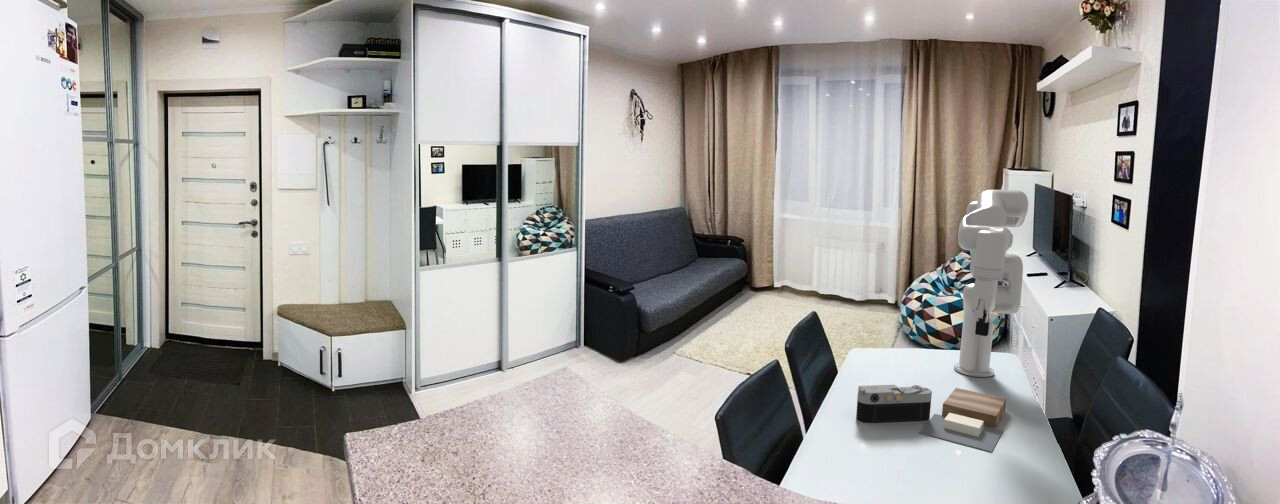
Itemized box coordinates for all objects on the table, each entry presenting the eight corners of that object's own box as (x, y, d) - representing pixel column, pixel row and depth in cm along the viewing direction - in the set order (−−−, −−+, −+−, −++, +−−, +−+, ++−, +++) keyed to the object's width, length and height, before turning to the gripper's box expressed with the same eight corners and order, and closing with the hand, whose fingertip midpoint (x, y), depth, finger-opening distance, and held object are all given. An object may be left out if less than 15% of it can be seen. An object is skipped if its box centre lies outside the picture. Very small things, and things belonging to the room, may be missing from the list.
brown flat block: (954, 399, 205) (955, 387, 204) (1005, 411, 196) (1006, 398, 196) (941, 416, 192) (942, 403, 192) (994, 429, 184) (996, 416, 183)
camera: (917, 410, 197) (920, 379, 195) (935, 424, 187) (937, 391, 186) (847, 413, 194) (850, 381, 193) (862, 427, 185) (864, 393, 183)
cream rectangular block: (944, 419, 184) (943, 427, 184) (979, 428, 178) (978, 436, 179) (949, 412, 188) (948, 420, 189) (983, 420, 183) (983, 429, 183)
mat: (934, 414, 194) (934, 413, 193) (1002, 431, 183) (1002, 430, 183) (919, 433, 181) (919, 432, 181) (991, 452, 170) (991, 451, 170)
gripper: (978, 267, 195) (973, 326, 198) (967, 275, 183) (961, 338, 187) (1007, 270, 191) (1000, 331, 194) (997, 279, 179) (990, 343, 182)
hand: (981, 334), depth 190 cm, fingers closed
